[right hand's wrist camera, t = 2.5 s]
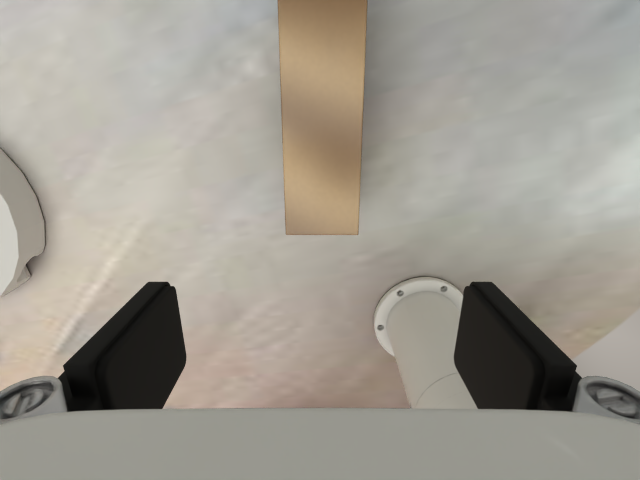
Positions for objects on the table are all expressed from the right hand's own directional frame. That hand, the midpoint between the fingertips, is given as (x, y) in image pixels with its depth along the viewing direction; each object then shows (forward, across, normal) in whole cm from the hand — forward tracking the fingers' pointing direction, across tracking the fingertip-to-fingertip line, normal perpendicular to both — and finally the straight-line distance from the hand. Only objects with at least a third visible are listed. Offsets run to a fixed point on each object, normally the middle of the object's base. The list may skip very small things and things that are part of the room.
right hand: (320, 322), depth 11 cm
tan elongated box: (+31, 0, -6) cm, 31 cm away
